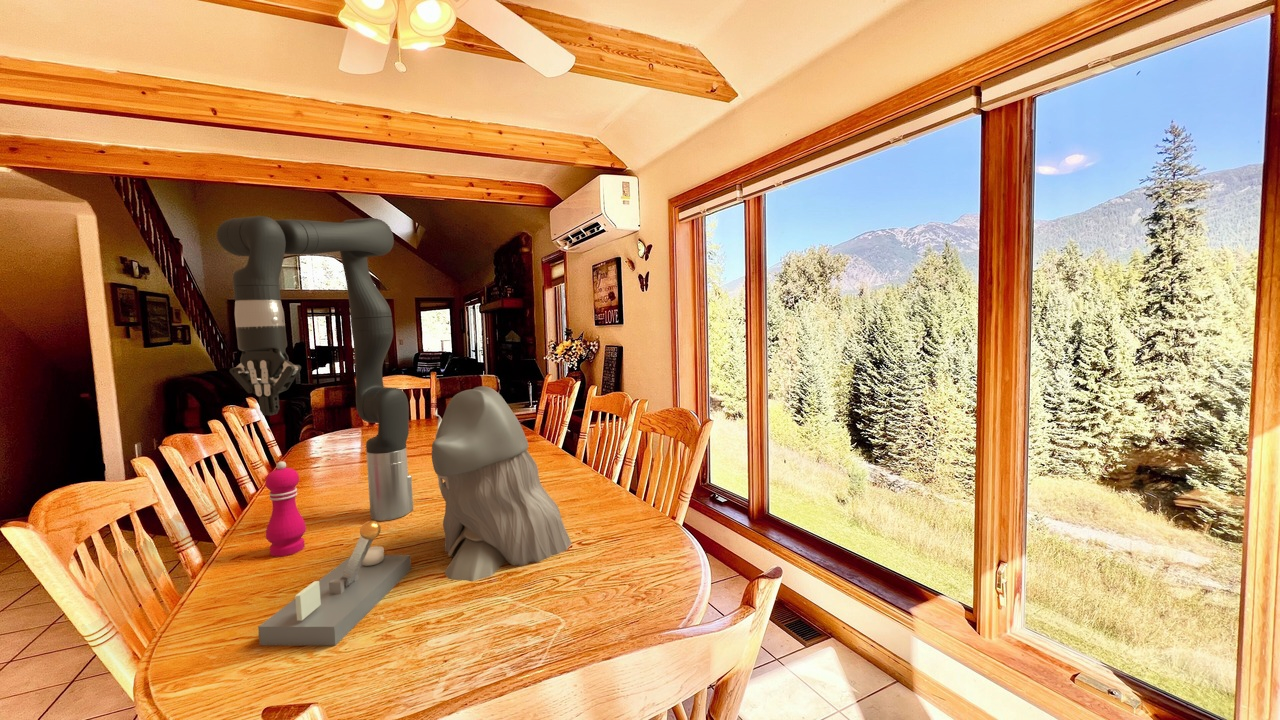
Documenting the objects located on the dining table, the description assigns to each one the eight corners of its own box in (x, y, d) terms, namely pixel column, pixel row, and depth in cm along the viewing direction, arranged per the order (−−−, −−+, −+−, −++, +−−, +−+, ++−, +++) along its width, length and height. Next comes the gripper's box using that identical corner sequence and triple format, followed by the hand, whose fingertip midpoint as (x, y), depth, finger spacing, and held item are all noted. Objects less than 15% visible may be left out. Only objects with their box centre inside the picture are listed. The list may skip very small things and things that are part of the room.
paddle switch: (297, 620, 79) (295, 595, 78) (316, 604, 83) (314, 581, 83) (302, 620, 79) (300, 595, 78) (320, 604, 83) (319, 581, 83)
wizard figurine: (465, 511, 133) (459, 379, 131) (590, 517, 127) (586, 378, 125) (378, 574, 100) (367, 399, 98) (540, 587, 94) (534, 400, 92)
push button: (356, 565, 97) (355, 555, 97) (368, 556, 101) (367, 546, 101) (377, 565, 97) (376, 555, 97) (388, 555, 101) (387, 546, 101)
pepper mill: (287, 559, 108) (280, 466, 106) (258, 556, 109) (251, 465, 108) (315, 544, 115) (309, 457, 113) (288, 542, 116) (281, 456, 115)
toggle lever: (332, 581, 88) (360, 521, 87) (343, 572, 91) (371, 514, 90) (349, 590, 88) (377, 530, 87) (359, 580, 91) (387, 522, 90)
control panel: (259, 645, 78) (257, 614, 78) (352, 569, 102) (351, 545, 102) (335, 645, 78) (333, 614, 78) (411, 569, 102) (409, 545, 102)
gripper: (308, 323, 100) (316, 410, 101) (243, 325, 100) (253, 411, 102) (279, 323, 92) (289, 417, 94) (210, 326, 93) (220, 419, 95)
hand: (270, 414), depth 98 cm, fingers closed
